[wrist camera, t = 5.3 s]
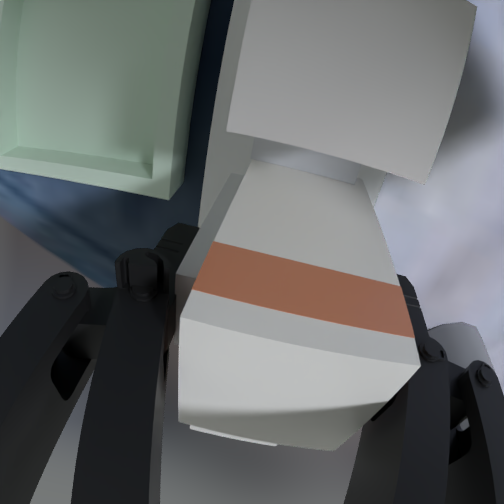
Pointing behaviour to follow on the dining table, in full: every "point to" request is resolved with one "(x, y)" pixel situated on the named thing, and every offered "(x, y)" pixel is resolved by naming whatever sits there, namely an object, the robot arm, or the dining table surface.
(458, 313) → the dining table surface
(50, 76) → the tray
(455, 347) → the cup
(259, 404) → the block
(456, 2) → the block
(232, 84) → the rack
